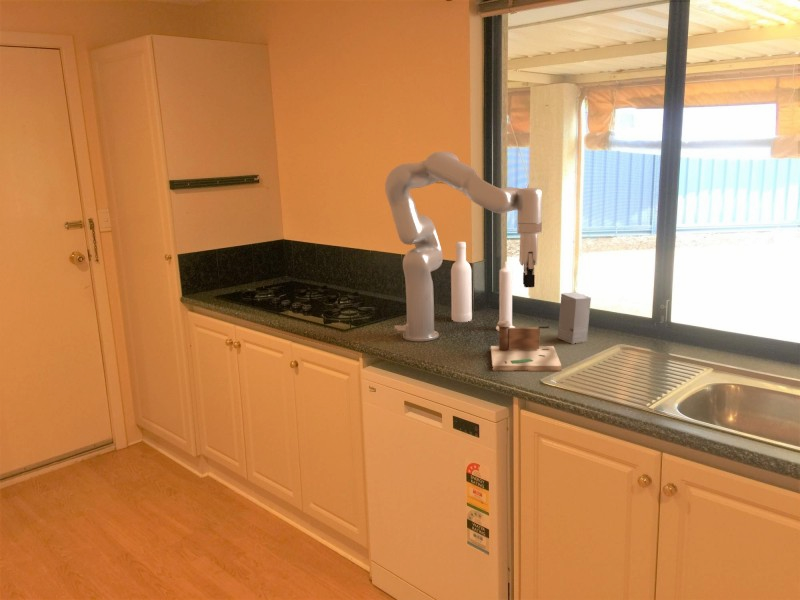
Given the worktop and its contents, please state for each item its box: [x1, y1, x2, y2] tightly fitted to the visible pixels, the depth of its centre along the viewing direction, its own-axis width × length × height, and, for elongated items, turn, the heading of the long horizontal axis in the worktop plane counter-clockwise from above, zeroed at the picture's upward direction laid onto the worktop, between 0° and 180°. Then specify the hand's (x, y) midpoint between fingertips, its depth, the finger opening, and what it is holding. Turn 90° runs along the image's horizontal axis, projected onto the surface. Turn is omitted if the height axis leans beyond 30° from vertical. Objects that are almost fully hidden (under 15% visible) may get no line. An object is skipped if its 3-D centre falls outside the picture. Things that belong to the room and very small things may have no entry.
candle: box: [495, 260, 516, 332], centre depth 241 cm, size 7×7×25 cm
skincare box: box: [557, 292, 592, 345], centre depth 226 cm, size 8×7×16 cm
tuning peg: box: [497, 320, 550, 351], centre depth 213 cm, size 16×4×9 cm, turn 84°
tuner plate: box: [490, 345, 563, 372], centre depth 208 cm, size 20×20×2 cm
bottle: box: [450, 241, 473, 323], centre depth 256 cm, size 8×8×30 cm
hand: (528, 285), depth 215 cm, fingers open, 3 cm apart
